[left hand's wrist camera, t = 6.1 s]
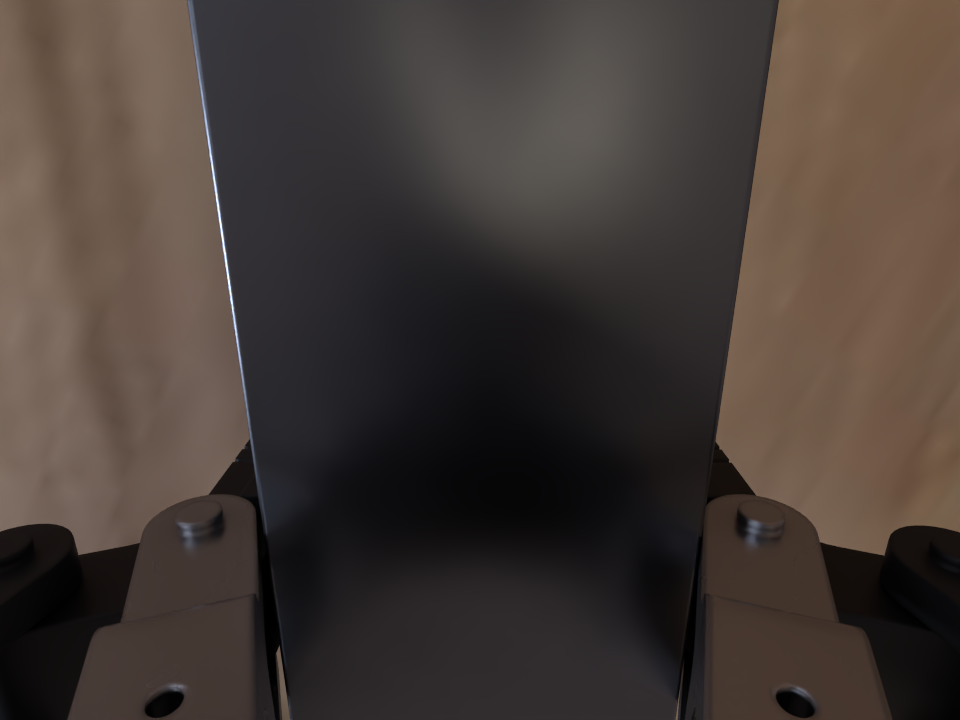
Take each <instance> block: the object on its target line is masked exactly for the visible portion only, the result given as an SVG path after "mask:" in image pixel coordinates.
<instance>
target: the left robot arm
mask: <svg viewBox="0 0 960 720" xmlns="http://www.w3.org/2000/svg"><path fill="white" fill-rule="evenodd" d="M279 645H280V644H279V637H278V630H277V623H276V616H275V609H274V602H273V595H272V588H271V581H270V574H269V567H268V560H267V553H266V546H265V539H264V532H263V525H262V519H261V512H260V505H259V498H258V491H257V484H256V477H255V470H254V463H253V456H252V449H251V442H250V440H249V441H248V442H247V444H246V445H245V449H242V450H241V452H240V453H239V454H238V456H237V457H236V459H235V462H233V463H232V464H231V465H230V467H229V468H228V469H227V471H226V472H225V473H224V475H223V476H222V477H221V479H220V480H219V481H218V483H217V484H216V485H215V487H214V488H213V490H212V491H211V492H210V494H209V495H206V496H200V497H195V498H192V499H188V500H185V501H182V502H180V503H177V504H175V505H173V506H171V507H169V508H167V509H165V510H163V511H162V512H160V513H159V514H158V515H156V516H155V517H154V518H153V519H152V520H151V521H150V522H149V523H148V524H147V525H146V527H145V528H144V531H143V533H142V537H141V541H140V543H138V544H133V545H129V546H124V547H119V548H114V549H108V550H103V551H98V552H93V553H88V554H82V555H78V552H77V548H76V544H75V541H74V537H73V535H72V533H71V532H70V531H69V530H68V529H67V528H65V527H63V526H59V525H54V524H34V525H26V526H20V527H16V528H12V529H8V530H4V531H1V532H0V720H282V710H281V696H280V681H279V668H278V661H277V654H276V652H277V650H278V647H279ZM678 720H960V533H959V532H956V531H952V530H948V529H944V528H939V527H932V526H906V527H903V528H899V529H897V530H895V531H894V532H893V533H892V534H891V535H890V538H889V541H888V544H887V548H886V552H885V556H883V555H878V554H873V553H867V552H862V551H857V550H852V549H847V548H841V547H836V546H832V545H828V544H824V543H821V542H820V541H819V537H818V533H817V531H816V528H815V527H814V525H813V524H812V523H811V522H810V521H809V520H808V519H807V518H806V517H805V516H804V515H802V514H801V513H800V512H798V511H797V510H795V509H793V508H791V507H789V506H787V505H785V504H783V503H780V502H778V501H775V500H772V499H768V498H765V497H760V496H756V495H755V493H754V492H753V491H752V490H751V488H750V487H749V486H748V484H747V483H746V482H745V480H744V479H743V478H742V476H741V475H740V474H739V472H738V471H737V470H736V468H735V467H734V466H733V464H732V463H729V459H728V458H727V456H726V455H725V454H724V452H723V451H722V450H719V446H718V444H717V443H716V442H715V447H714V454H713V461H712V468H711V475H710V482H709V489H708V496H707V503H706V510H705V517H704V524H703V531H702V538H701V545H700V551H699V558H698V565H697V572H696V579H695V586H694V593H693V600H692V607H691V614H690V621H689V628H688V635H687V642H686V649H685V656H684V663H683V670H682V677H681V684H680V696H679V710H678Z"/></svg>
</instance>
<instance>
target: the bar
mask: <svg viewBox="0 0 960 720" xmlns="http://www.w3.org/2000/svg"><path fill="white" fill-rule="evenodd" d="M778 2H779V0H187V3H188V10H189V17H190V24H191V31H192V38H193V45H194V52H195V59H196V66H197V73H198V80H199V87H200V94H201V101H202V108H203V115H204V122H205V129H206V136H207V143H208V150H209V157H210V164H211V170H212V177H213V184H214V191H215V198H216V205H217V212H218V219H219V226H220V233H221V240H222V247H223V254H224V261H225V268H226V275H227V282H228V289H229V296H230V303H231V310H232V317H233V324H234V331H235V338H236V344H237V351H238V358H239V365H240V372H241V379H242V386H243V393H244V400H245V407H246V414H247V421H248V428H249V435H250V442H251V449H252V456H253V463H254V470H255V477H256V484H257V491H258V498H259V505H260V512H261V519H262V525H263V532H264V539H265V546H266V553H267V560H268V567H269V574H270V581H271V588H272V595H273V602H274V609H275V616H276V623H277V630H278V637H279V644H280V651H281V658H282V665H283V672H284V679H285V686H286V693H287V699H288V706H289V713H290V720H675V719H676V712H677V705H678V698H679V691H680V684H681V677H682V670H683V663H684V656H685V649H686V642H687V635H688V628H689V621H690V614H691V607H692V600H693V593H694V586H695V579H696V572H697V565H698V558H699V551H700V545H701V538H702V531H703V524H704V517H705V510H706V503H707V496H708V489H709V482H710V475H711V468H712V461H713V454H714V447H715V440H716V433H717V426H718V419H719V412H720V405H721V398H722V391H723V384H724V377H725V371H726V364H727V357H728V350H729V343H730V336H731V329H732V322H733V315H734V308H735V301H736V294H737V287H738V280H739V273H740V266H741V259H742V252H743V245H744V238H745V231H746V224H747V217H748V210H749V203H750V197H751V190H752V183H753V176H754V169H755V162H756V155H757V148H758V141H759V134H760V127H761V120H762V113H763V106H764V99H765V92H766V85H767V78H768V71H769V64H770V57H771V50H772V43H773V36H774V29H775V22H776V16H777V9H778Z"/></svg>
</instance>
